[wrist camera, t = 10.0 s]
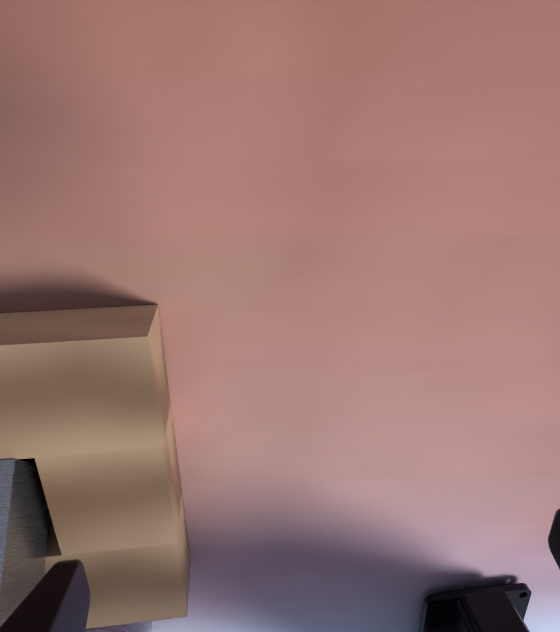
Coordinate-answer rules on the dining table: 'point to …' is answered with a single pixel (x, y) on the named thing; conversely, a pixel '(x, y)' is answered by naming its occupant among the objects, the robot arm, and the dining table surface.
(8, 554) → the square bit
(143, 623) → the clear glass jar
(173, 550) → the bore block
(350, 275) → the dining table surface
